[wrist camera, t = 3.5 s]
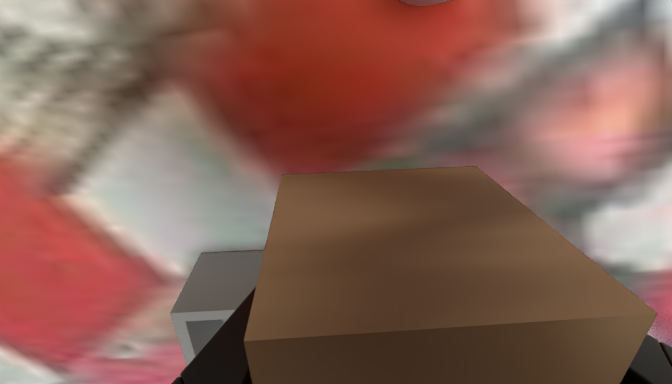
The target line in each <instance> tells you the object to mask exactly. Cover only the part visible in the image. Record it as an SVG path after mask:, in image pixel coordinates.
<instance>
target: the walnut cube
mask: <svg viewBox="0 0 672 384" xmlns="http://www.w3.org/2000/svg"><path fill="white" fill-rule="evenodd" d="M657 314H658V313H657V312H655V311H654V310H653V309H652V308H650V307H649V306H648V305H647V304H645V303H644V302H643V301H642V300H640V299H639V298H638V297H637V296H636V295H634V294H633V293H632V292H631V291H629V290H628V289H627V288H626V287H624V286H623V285H622V284H621V283H620V282H618V281H617V280H616V279H615V278H613V277H612V276H611V275H610V274H608V273H607V272H606V271H605V270H603V269H602V268H601V267H600V266H599V265H597V264H596V263H595V262H594V261H592V260H591V259H590V258H589V257H587V256H586V255H585V254H584V253H583V252H581V251H580V250H579V249H578V248H576V247H575V246H574V245H573V244H571V243H570V242H569V241H568V240H566V239H565V238H564V237H563V236H562V235H560V234H559V233H558V232H557V231H555V230H554V229H553V228H552V227H550V226H549V225H548V224H547V223H546V222H544V221H543V220H542V219H541V218H539V217H538V216H537V215H536V214H534V213H533V212H532V211H531V210H530V209H528V208H527V207H526V206H525V205H523V204H522V203H521V202H520V201H518V200H517V199H516V198H515V197H513V196H512V195H511V194H510V193H509V192H507V191H506V190H505V189H504V188H502V187H501V186H500V185H499V184H497V183H496V182H495V181H494V180H493V179H491V178H490V177H489V176H488V175H486V174H485V173H484V172H483V171H481V170H480V169H479V168H478V167H476V166H466V167H444V168H421V169H399V170H377V171H355V172H333V173H310V174H288V175H282V177H281V181H280V186H279V190H278V194H277V199H276V203H275V207H274V212H273V216H272V220H271V225H270V229H269V233H268V238H267V242H266V246H265V251H264V255H263V259H262V264H261V268H260V272H259V277H258V281H257V285H256V290H255V294H254V299H253V303H252V307H251V312H250V316H249V320H248V325H247V329H246V333H245V338H244V345H245V350H246V355H247V360H248V365H249V369H250V374H251V379H252V384H620V383H621V381H622V379H623V377H624V375H625V373H626V372H627V370H628V368H629V366H630V364H631V362H632V360H633V359H634V357H635V355H636V353H637V351H638V349H639V348H640V346H641V344H642V342H643V340H644V338H645V336H646V335H647V333H648V331H649V329H650V327H651V325H652V324H653V322H654V320H655V318H656V316H657Z"/></svg>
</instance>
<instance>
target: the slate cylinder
mask: <svg viewBox="0 0 672 384" xmlns="http://www.w3.org/2000/svg"><path fill="white" fill-rule="evenodd" d="M399 1H401V2H403V3H405V4H408V5H412V6H420V7H423V6H431V5H435V4H439V3H443V2H447V1H451V0H399Z"/></svg>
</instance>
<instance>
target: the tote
mask: <svg viewBox="0 0 672 384" xmlns="http://www.w3.org/2000/svg"><path fill="white" fill-rule="evenodd" d="M264 251H265V250H257V251H236V252H214V253H201V255H200V257H199V259H198V260H197V262H196V264H195V266H194V268H193V270H192V272H191V274H190V276H189V278H188V280H187V282H186V284H185V286H184V288H183V290H182V291H181V293H180V295H179V297H178V299H177V301H176V303H175V305H174V307H173V309H172V311H171V313H170V314H171V317H172V321H173V324H174V327H175V330H176V333H177V337H178V340H179V343H180V346H181V349H182V352H183V356H184V359H185V362H186V365H188V364H189V363H190V362H191V361H192V360H193V359H194V357H195V356H196V355H197V354H198V353H199V352H200V350H201V349H202V348H203V347H204V346H205V345H206V343H207V342H208V341H209V340H210V339H211V338H212V336H213V335H214V334H215V333H216V332H217V331H218V329H219V328H220V327H221V326H222V325H223V324H224V322H225V321H226V320H227V319H228V318H229V317H230V315H231V314H232V313H233V312H234V311H235V310H236V308H237V307H238V306H239V305H240V304H241V303H242V301H243V300H244V299H245V298H246V297H247V296H248V294H249V293H250V292H251V291H252V290H253V289H254V287H255V286H256V285H257V281H258V277H259V272H260V268H261V264H262V259H263V255H264Z"/></svg>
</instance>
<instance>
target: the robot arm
mask: <svg viewBox="0 0 672 384" xmlns="http://www.w3.org/2000/svg"><path fill="white" fill-rule="evenodd" d="M255 290H256V286H255V287H254V289H253V290H252V291H251V292H250V293H249V294H248V296H247V297H246V298H245V299H244V300H243V301H242V303H241V304H240V305H239V306H238V307H237V308H236V310H235V311H234V312H233V313H232V314H231V315H230V317H229V318H228V319H227V320H226V321H225V322H224V324H223V325H222V326H221V327H220V328H219V329H218V331H217V332H216V333H215V334H214V335H213V336H212V338H211V339H210V340H209V341H208V342H207V343H206V345H205V346H204V347H203V348H202V349H201V350H200V352H199V353H198V354H197V355H196V356H195V357H194V359H193V360H192V361H191V362H190V363H189V364H188V365H187V367H186V368H185V369H184V370H183V371H182V372H181V374H180V376H181V377H177V378H176V379H175V380H174V382H173V383H172V384H252V379H251V374H250V369H249V365H248V360H247V355H246V350H245V345H244V338H245V333H246V329H247V325H248V320H249V316H250V312H251V307H252V303H253V299H254V294H255ZM620 384H672V347H670V346H668V345H666V344H665V343H662V342H660V343H659V342H658V340H657V339H655V338H653V337H651V336H649V335H646V336H645V338H644V340H643V342H642V344H641V346H640V348H639V349H638V351H637V353H636V355H635V357H634V359H633V360H632V362H631V364H630V366H629V368H628V370H627V372H626V373H625V375H624V377H623V379H622V381H621V383H620Z"/></svg>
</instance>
